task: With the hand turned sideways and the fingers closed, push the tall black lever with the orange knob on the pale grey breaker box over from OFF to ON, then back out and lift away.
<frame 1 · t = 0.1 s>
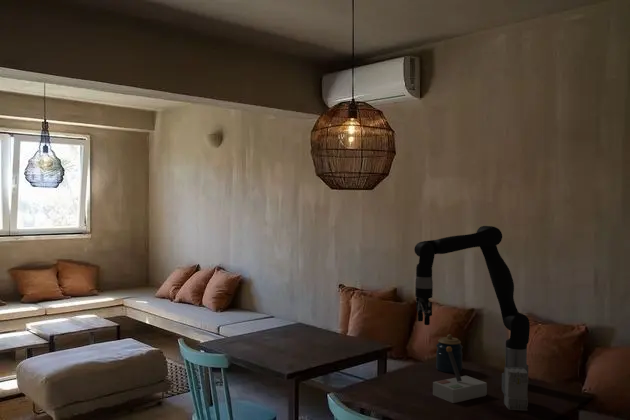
hand: (423, 323, 255), 29 cm above the table, tool pointing down, fingers open, 8 cm apart
breaker box: (459, 395, 247), on the table
breaker lever: (453, 363, 250), point 13 cm above the table, hinge at -28.0°
canister: (449, 369, 286), on the table
circuit breaker: (513, 404, 237), on the table
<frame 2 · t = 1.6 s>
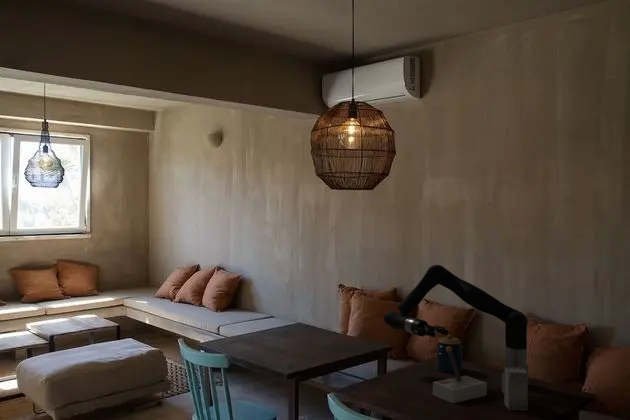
hand: (441, 333, 257), 24 cm above the table, tool horizontal, fingers open, 7 cm apart
nothing on the table moved.
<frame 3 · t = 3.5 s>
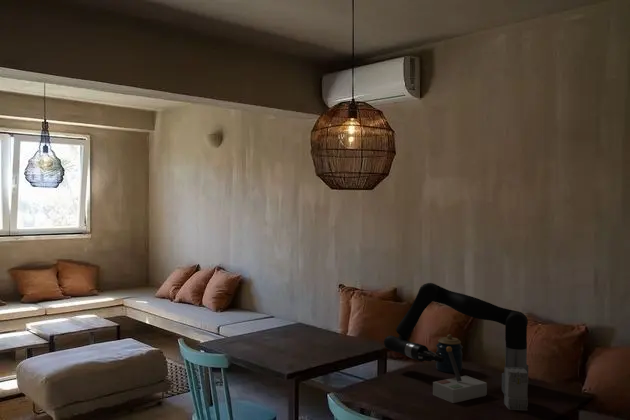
hand: (442, 360, 256), 13 cm above the table, tool horizontal, fingers closed
nothing on the table moved.
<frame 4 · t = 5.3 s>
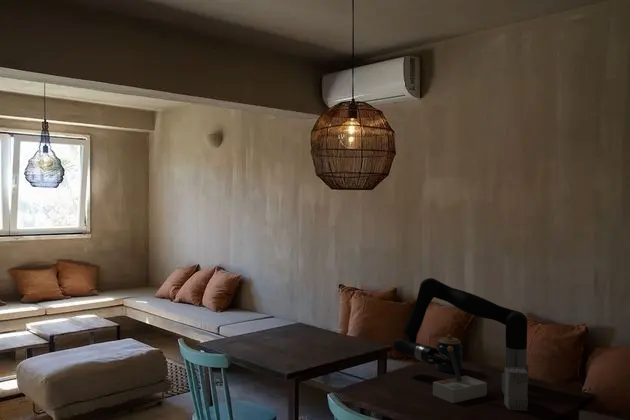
hand: (453, 363, 251), 13 cm above the table, tool horizontal, fingers closed
breaker lever: (454, 363, 250), point 13 cm above the table, hinge at -24.6°, touching gripper
everything else where it was.
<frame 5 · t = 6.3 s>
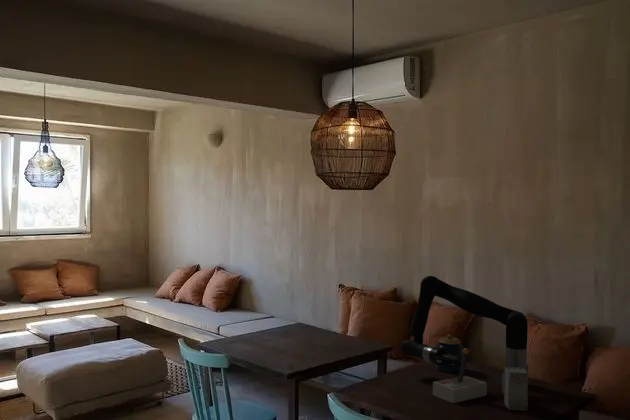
hand: (462, 363, 246), 14 cm above the table, tool horizontal, fingers closed
breaker lever: (463, 365, 245), point 13 cm above the table, hinge at 12.0°, touching gripper
everything else where it was.
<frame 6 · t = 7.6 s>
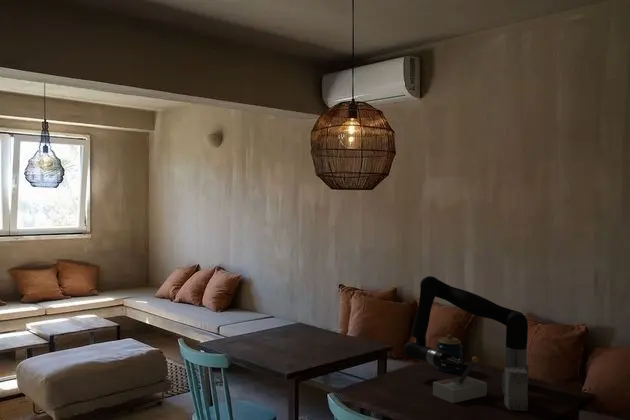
hand: (467, 367, 244), 13 cm above the table, tool horizontal, fingers closed
breaker lever: (468, 369, 243), point 12 cm above the table, hinge at 35.2°, touching gripper
everything else where it was.
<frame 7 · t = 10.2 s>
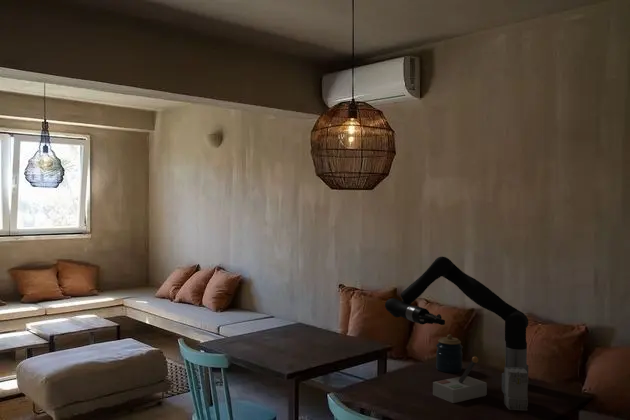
hand: (443, 322, 256), 29 cm above the table, tool horizontal, fingers closed
breaker lever: (468, 369, 243), point 12 cm above the table, hinge at 35.2°
everything else where it was.
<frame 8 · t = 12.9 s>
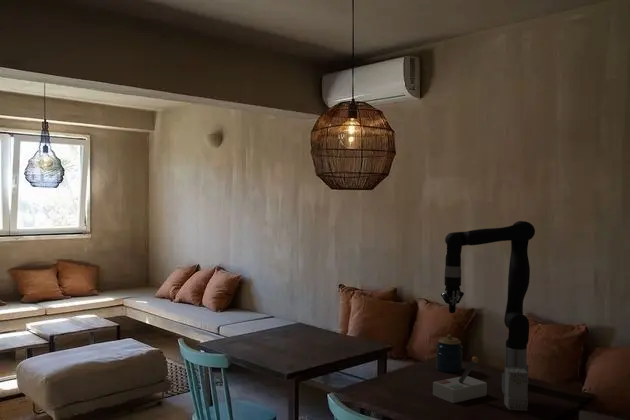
hand: (452, 312, 266), 32 cm above the table, tool pointing down, fingers closed
nothing on the table moved.
at the end: breaker lever at +35° (first picture: -28°); circuit breaker moved 0.2 cm from its start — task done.
